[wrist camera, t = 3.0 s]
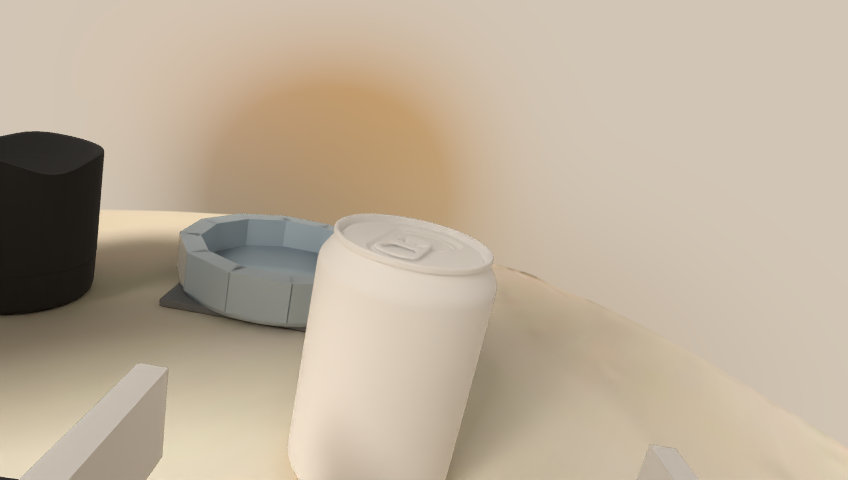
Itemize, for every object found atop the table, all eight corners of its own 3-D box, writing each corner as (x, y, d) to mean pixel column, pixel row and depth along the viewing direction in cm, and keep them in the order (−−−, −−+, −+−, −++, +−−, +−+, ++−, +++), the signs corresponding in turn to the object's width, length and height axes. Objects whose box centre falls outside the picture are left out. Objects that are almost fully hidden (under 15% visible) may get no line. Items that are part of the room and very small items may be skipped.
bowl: (138, 302, 35) (140, 256, 34) (222, 237, 50) (225, 204, 49) (368, 343, 36) (376, 300, 35) (381, 267, 51) (387, 236, 50)
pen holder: (78, 323, 32) (81, 168, 29) (-119, 317, 28) (-136, 140, 26) (112, 267, 40) (118, 142, 38) (-37, 256, 37) (-43, 118, 34)
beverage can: (466, 450, 28) (522, 247, 25) (403, 559, 21) (471, 292, 18) (343, 392, 31) (379, 203, 27) (248, 471, 23) (282, 225, 20)
